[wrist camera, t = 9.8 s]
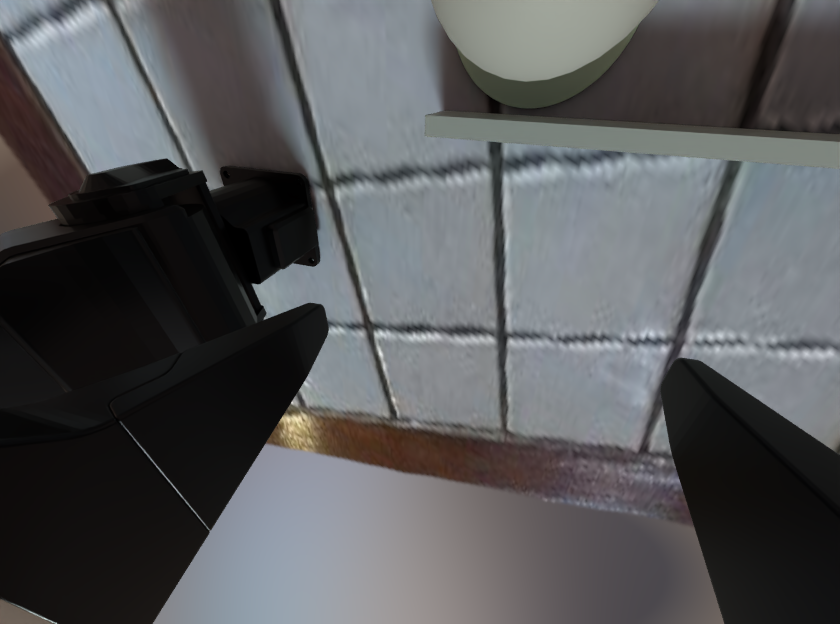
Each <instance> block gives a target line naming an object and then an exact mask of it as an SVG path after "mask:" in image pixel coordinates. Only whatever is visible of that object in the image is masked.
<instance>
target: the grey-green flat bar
mask: <svg viewBox="0 0 840 624" xmlns="http://www.w3.org/2000/svg"><path fill="white" fill-rule="evenodd" d="M425 136H427V137H440V138H453V139H466V140H478V141H491V142H504V143H517V144H529V145H542V146H555V147H568V148H580V149H593V150H606V151H619V152H631V153H644V154H657V155H670V156H683V157H695V158H708V159H721V160H734V161H746V162H759V163H772V164H785V165H797V166H810V167H823V168H836V169H840V134H824V133H808V132H791V131H775V130H758V129H742V128H725V127H709V126H693V125H676V124H660V123H643V122H627V121H610V120H594V119H577V118H561V117H545V116H528V115H512V114H495V113H479V112H462V111H446V110H445V111H441V112H437V113H433V114H428V115H425Z"/></svg>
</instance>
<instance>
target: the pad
mask: <svg viewBox="0 0 840 624" xmlns="http://www.w3.org/2000/svg"><path fill="white" fill-rule="evenodd" d="M639 24H640V23H639ZM639 24H638V25H637V26H636V27H635V28H634V29H633V30H632V31H631V32H630V33H629V34H628V35H627V36H626V37H625V38H624V39H623V40H621V41H620V42H619V43H618V44H616V45H615V46H614V47H612V48H611V49H610V50H608V51H607V52H606V53H604V54H603V55H602V56H601V57H599V58H597V59H595V60H594V61H592V62H590V63H588V64H586V65H584V66H582V67H581V68H579V69H577V70H575V71H573V72H570V73H567V74H564V75H561V76H558V77H554V78H551V79H548V80H537V81H527V82H525V81H518V80H510V79H504V78H502V77H499V76H497V75H494V74H492V73H489V72H487V71H485V70H483V69H481V68H480V67H479V66H477V65H476V64H474V63H473V62H472V61H470V60H469V59H467V58H466V57H465V56H464V55H463V54H462V53H461V51H460V50H459V49H458V48H457V50H458V53H459V56H460V58H461V61H462V63H463V65H464V67H465V69H466V71H467V72H468V74H469V76H470V77H471V78H472V80H473V81H474V82H475V84H476V85H477V86H478V87H479V88H480V89H481V90H482V91H483V92H484V93H486V94H487V95H488V96H490V97H491V98H493V99H494V100H496V101H498V102H501V103H503V104H505V105H509V106H512V107H518V108H540V107H546V106H550V105H553V104H557V103H560V102H562V101H564V100H567V99H569V98H571V97H573V96H574V95H576V94H578V93H579V92H581V91H583V90H584V89H586V88H587V87H588V86H590V85H591V84H592V83H594V82H595V81H596V80H597V79H598V78H599V77H600V76H601V75H602V74H603V73H605V72H606V71H607V70H608V68H609V67H610V66H611V65H612V64H613V63H614V62H615V61H616V59H617V58H618V57H619V56H620V54H621V53H622V51H623V50H624V49H625V47H626V46H627V45H628V43H629V41H630V40H631V38H632V36H633V35H634V33H635V31H636V30H637V28H638V26H639Z"/></svg>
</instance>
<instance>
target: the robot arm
mask: <svg viewBox="0 0 840 624" xmlns="http://www.w3.org/2000/svg"><path fill="white" fill-rule="evenodd" d="M228 173H229V174H230V176H229V175H228ZM220 174H221V177H222V181H223V184H224V186H223V187H220V188H217V189H214V190H211V191H209V189H208V187H207V184H206V182H207V179H206V177H205V175H204V173H203V170H201V171H192V172H189V171H188V169H182V168H179V167H177V166H176V165H175V164H173V163H172V162H171V161H170V160H168V159H159V160H154V161H148V162H143V163H138V164H132V165H127V166H122V167H118V168H114V169H110V170H106V171H101V172H97V173H93V174H89V175H86V177H85V180H84V182H83V184H82V186H81V188H80V190H78V191H75V192H73V193H70V194H68V197H66V198H63V199H61V200H58V201H56V202H54V203H51V204H49V205H48V206H49V207H50V208H51V210H52V211H53V213H54V214H55V215H56V217H57V218H58V219H55V220H50V221H47V222H42V223H38V224H35V225H31V226H26V227H23V228H19V229H14V230H10V231H7V232H5V233H2V234H0V624H153V622H154V621H155V619H156V617H157V616H158V614H159V613H160V611H161V609H162V608H163V606H164V605H165V603H166V601H167V600H168V598H169V597H170V595H171V593H172V592H173V590H174V589H175V587H176V585H177V584H178V582H179V581H180V579H181V577H182V576H183V574H184V573H185V571H186V569H187V568H188V566H189V565H190V563H191V562H192V560H193V558H194V557H195V555H196V554H197V552H198V550H199V549H200V547H201V546H202V544H203V543H204V541H205V539H206V538H207V536H208V535H209V531H210V530H211V529H212V528H213V526H214V525H215V523H216V521H217V520H218V518H219V516H220V515H221V513H222V511H223V510H224V509H225V507H226V505H227V504H228V502H229V501H230V499H231V498H232V496H233V494H234V493H235V491H236V490H237V488H238V486H239V485H240V483H241V482H242V480H243V478H244V477H245V475H246V474H247V472H248V470H249V469H250V467H251V466H252V464H253V462H254V461H255V459H256V458H257V456H258V455H259V453H260V451H261V450H262V448H263V447H264V445H265V443H266V442H267V440H268V439H269V437H270V435H271V434H272V432H273V431H274V429H275V427H276V426H277V424H278V423H279V421H280V419H281V418H282V416H283V415H284V413H285V412H286V410H287V408H288V407H289V405H290V404H291V402H292V400H293V399H294V397H295V396H296V394H297V392H298V391H299V389H300V388H301V386H302V384H303V383H304V381H305V379H306V378H307V376H308V374H309V372H310V370H311V368H312V366H313V364H314V362H315V360H316V358H317V356H318V354H319V352H320V350H321V348H322V345H323V343H324V341H325V339H326V337H327V335H328V331H329V327H328V322H327V317H326V313H325V309H324V307H323V305H321V304H315V303H307V304H304V305H302V306H299V307H296V308H294V309H291V310H289V311H286V312H284V313H281V314H278V315H276V316H273V317H271V318H268V319H265V320H263V319H264V317H265V315H266V311H265V309H264V306H262V305H261V304H260V302H259V299H258V297H257V295H256V293H255V291H254V288H253V286H252V284H253V283H254V284H261V283H262V282H264V281H265V280H266V279H268V278H269V277H271V276H272V275H273V274H275V273H276V272H278V271H279V270H280V269H285V268H287V267H288V266H290V265H291V264H292V263H295V264H300V265H306V266H312V267H314V266H316V265H317V264H319V262H320V256H319V250H318V237H317V230H316V224H315V217H314V211H313V209H312V204H311V197H310V190H309V184H308V180H307V178H306V177H305V176H304V175H303V174H299V173H290V172H281V171H272V170H263V169H254V168H245V167H236V166H225V167H222V168H221V169H220ZM298 179H299V180H300V181H301V183H302V185H300V184H299V183H298ZM311 258H313V259H314V261H313V260H312V259H311ZM262 320H263V321H262ZM660 392H661V398H662V404H663V409H664V415H665V421H666V426H667V432H668V437H669V443H670V448H671V452H672V456H673V459H674V463H675V466H676V470H677V473H678V476H679V479H680V482H681V486H682V489H683V492H684V495H685V498H686V502H687V505H688V508H689V511H690V515H691V518H692V521H693V524H694V527H695V531H696V534H697V537H698V540H699V544H700V547H701V550H702V553H703V556H704V560H705V563H706V566H707V569H708V573H709V576H710V579H711V582H712V585H713V589H714V592H715V595H716V598H717V601H718V604H719V608H720V611H721V614H722V618H723V621H724V624H840V455H839V454H837V453H836V452H834V451H833V450H831V449H830V448H828V447H827V446H826V445H824V444H823V443H821V442H820V441H818V440H817V439H815V438H814V437H812V436H811V435H809V434H808V433H806V432H805V431H803V430H802V429H800V428H799V427H797V426H796V425H794V424H793V423H792V422H790V421H789V420H787V419H786V418H784V417H783V416H781V415H780V414H778V413H777V412H775V411H774V410H772V409H771V408H769V407H768V406H766V405H765V404H763V403H762V402H761V401H759V400H758V399H756V398H755V397H753V396H752V395H750V394H749V393H747V392H746V391H744V390H743V389H741V388H740V387H738V386H737V385H735V384H734V383H732V382H731V381H729V380H728V379H727V378H725V377H724V376H722V375H721V374H719V373H718V372H716V371H715V370H713V369H712V368H710V367H709V366H707V365H706V364H704V363H703V362H701V361H699V360H694V359H687V358H678V359H676V360H675V361H674V362H673V364H672V365H671V367H670V369H669V371H668V372H667V374H666V376H665V378H664V380H663V381H662V384H661V389H660Z"/></svg>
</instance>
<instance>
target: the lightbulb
mask: <svg viewBox="0 0 840 624" xmlns="http://www.w3.org/2000/svg"><path fill="white" fill-rule="evenodd" d="M431 1H432V4H433V7H434V10H435V13H436V15H437V18H438V19H439V21H440V23H441V25H442V26H443V28H444V30H445V32H446V33H447V35H448V37H449V39H450V40H451V41H452V42H453V43H454V45H455V46H456V47H457V48H458V49H459V50H460V51H461V53H462V54H463V55H464V56H465V57H466V58H467V59H469V60H470V61H472V62H473V63H474V64H476V65H477V66H479V67H480V68H481V69H483V70H485V71H487V72H489V73H492V74H494V75H497V76H499V77H502V78H504V79H510V80H518V81H525V82H527V81H537V80H548V79H551V78H554V77H558V76H561V75H564V74H567V73H570V72H573V71H575V70H577V69H579V68H581V67H582V66H584V65H586V64H588V63H590V62H592V61H594V60H595V59H597V58H599V57H601V56H602V55H603V54H604V53H606V52H607V51H608V50H610V49H611V48H612V47H614V46H615V45H616V44H618V43H619V42H620V41H621V40H623V39H624V38H625V37H626V36H627V35H628V34H629V33H630V32H631V31H632V30H633V29H634V28H635V27H636V26H637V25H638V24H639V23H640V22H641V21H642V20H643V19H644V18H645V17H646V16H647V15H648V14H649V13H650V12H651V10H652V9H653V8H654V6H655V5H656V4H657V2H658V1H659V0H431Z"/></svg>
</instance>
